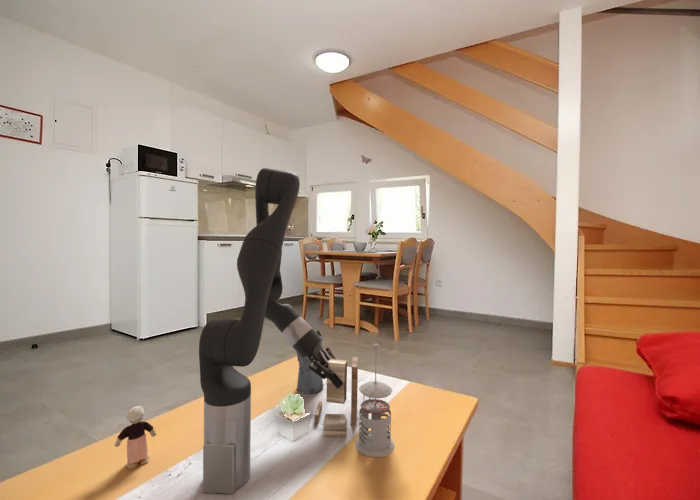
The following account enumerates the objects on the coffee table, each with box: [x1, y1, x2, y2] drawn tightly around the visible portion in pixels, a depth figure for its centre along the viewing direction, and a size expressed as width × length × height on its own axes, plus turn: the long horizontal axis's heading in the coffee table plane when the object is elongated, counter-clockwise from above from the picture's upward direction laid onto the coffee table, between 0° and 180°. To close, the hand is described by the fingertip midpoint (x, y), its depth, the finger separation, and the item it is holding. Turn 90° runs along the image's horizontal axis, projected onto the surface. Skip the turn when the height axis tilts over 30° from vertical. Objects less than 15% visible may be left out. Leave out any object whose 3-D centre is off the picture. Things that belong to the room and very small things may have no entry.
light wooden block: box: [325, 359, 348, 405], centre depth 94 cm, size 3×5×11 cm, turn 78°
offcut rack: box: [313, 356, 359, 427], centre depth 95 cm, size 8×12×16 cm
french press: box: [354, 343, 396, 458], centre depth 83 cm, size 10×12×25 cm
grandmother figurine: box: [114, 405, 157, 470], centre depth 74 cm, size 8×4×13 cm, turn 141°
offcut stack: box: [322, 413, 348, 438], centre depth 88 cm, size 4×6×4 cm
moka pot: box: [296, 330, 324, 394], centre depth 115 cm, size 10×15×20 cm, turn 163°
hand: (342, 383), depth 94 cm, fingers closed on light wooden block, 3 cm apart
